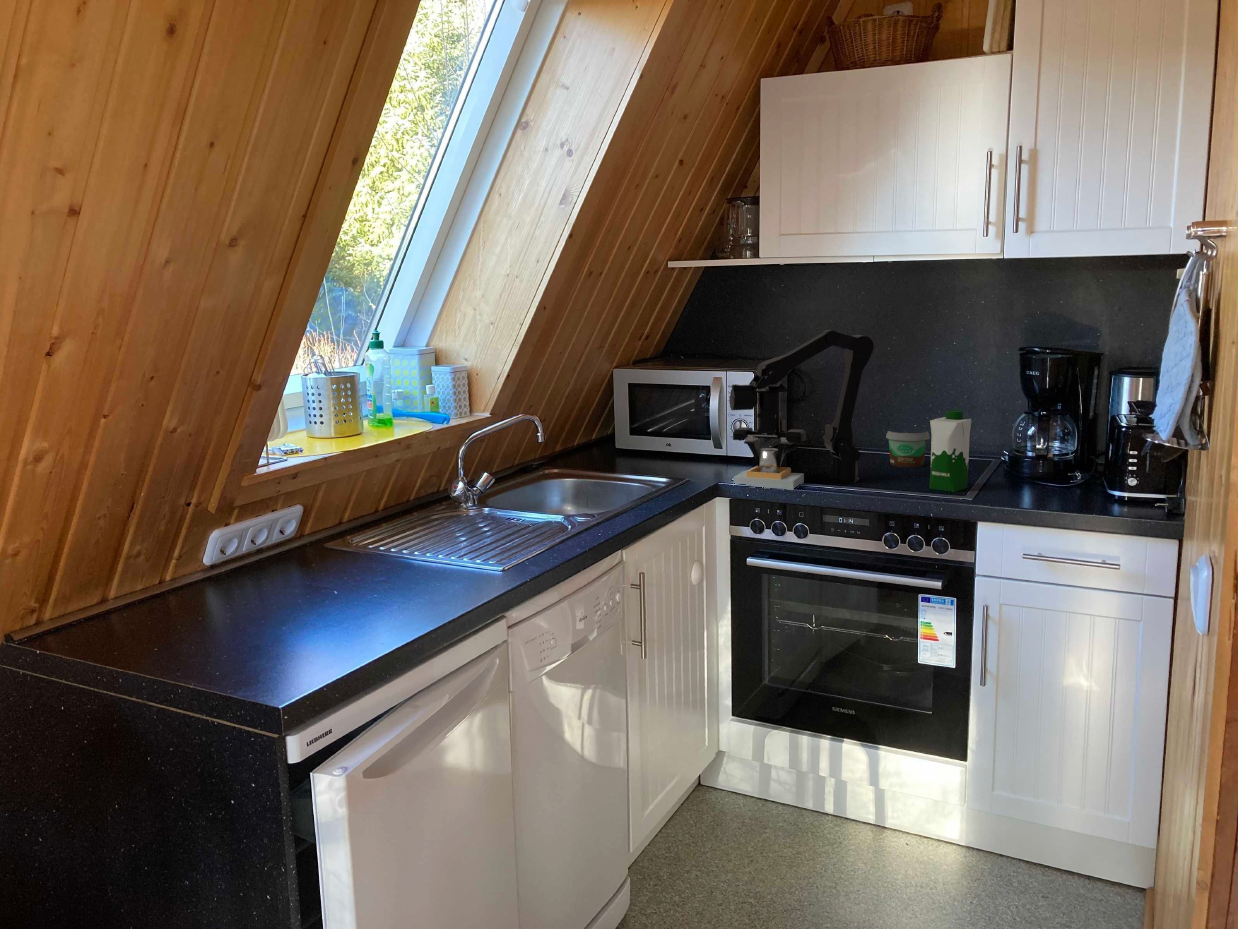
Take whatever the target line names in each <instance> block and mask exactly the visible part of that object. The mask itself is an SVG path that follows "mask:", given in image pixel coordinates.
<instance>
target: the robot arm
mask: <svg viewBox="0 0 1238 929" xmlns="http://www.w3.org/2000/svg"><path fill="white" fill-rule="evenodd" d="M830 347H836V348H839V349H842V350H844V360H845V361H844V362H845V363H844V364H845V370H844V374H843V375H844V376H843V379H842V386H841V389H840V394H839V398H838V404H837V408H836V413H835V417H834V420H833V421H832V423H831V424H829V423H826V424H825V427H824V428H825V432H824V435H823V436H822V439H824V443H823V444H824V446H825V448H826V449H827V450H829V451H830V454H831V456H832V457H833V458H832V462H831V463H830V466H829V469H830V470H829V471H830V473H829V474H830V475H829V476H830V477H829V478H830V483H842V484H843V483H844V484H855V483H856V482H858V481H859V480H860V477H858V473H859V460H860V459H861V456H862V453H861V452H860V451H859V450H858V449H857V447H855V446H854V444H853V443H854V440H853V439H854V433H853V432H854V430H853V424H852V422H853V419H854V413H855V409H856V404H857V398H858V395H859V390H860V385H861V380H862V377H863V372H864V369H865V368H866V367H867V364H868V363H869V362H870V359H871V357H872V354H873V352H874V349H875V343H874V341H873V340H872V339H871V337H869V336H868V335H861V334H853V335H849V334H845V333H841V332H837V330H834V329H833V330H832V329H826V330H823V331H822V332H821V333H820V334H818V335H817V336H815V337H813V338H812V339H809V340H807V341H806V342H804V343H802V344H800V345H799V346H798V347H795V348H793V349H792V350H791V351H789V352H787V353H785V354H783V355H780V356H776V357H772V358H770V359H767V360H764V361H762V362H760V363H759V364H758V365H757V366H756V367H757V368H756V374H755V375H754V376H753V378H752V379H751V381H750V382H749V383H748V384H732V385H731V390H730V392H729V393H730V395H729V396H728V397H729V407H730V411H750V410H751V411H752V410H754V408H755V407H757V406H758V413H757V414H756V415H757V416H756V417H757V419H758V426H757V427H758V428H757V430H754V429H753V427H745V426H744V427H742V426H739V427H738V428H736V429H734V430H733V432H732V441H743V443H744V445H745V444H746V445H747V446H748V448H749V450H750V452H751V453H752V456H753V457H754V460H755V462H756V466H759V449H761V446H760V444H761V439H776V440H780V442H778V443H777V449H778V460H777V463H778V468H780V467H781V466H782V464H783V460H784V457H785V455H786V452H787V451H788V449H789V448H788V447H790V446H791V445H792V444H801V443H804V441H806V440H807V432H806V430H805V429H795V428H792V429H791V428H790V429H789V430H787V431H786V426H787V425H786V424H787V420H785V419H784V418H783V417H782V411H781V393H788V392H789V389H788V388H787V387H786V386H785V385H784V383H782V382H781V381H782V380H783V379H784V378H785V377H786V376H788V375H789V373H790V372H791V371H792V370H793V369H795V368H796V367H798V366H799V365H801V364H802V363H804V362H806V361H808V360H810V359H811V358H812V357H815V356H816V355H818V354H820V353H821V352H823V351H825V350H827V349H828V348H830Z"/></svg>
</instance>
